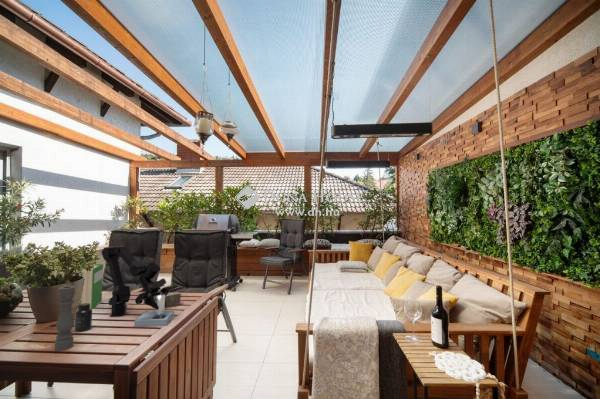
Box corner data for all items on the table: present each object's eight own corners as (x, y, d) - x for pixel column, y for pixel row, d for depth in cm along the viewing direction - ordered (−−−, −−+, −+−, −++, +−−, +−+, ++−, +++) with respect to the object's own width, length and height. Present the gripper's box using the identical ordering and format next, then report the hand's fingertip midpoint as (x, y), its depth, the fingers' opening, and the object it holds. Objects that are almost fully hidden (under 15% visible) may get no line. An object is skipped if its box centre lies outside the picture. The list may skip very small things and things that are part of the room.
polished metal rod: (155, 322, 152) (156, 296, 153) (154, 320, 156) (154, 294, 156) (165, 320, 155) (165, 295, 155) (163, 318, 158) (163, 293, 159)
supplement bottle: (94, 327, 148) (95, 303, 148) (80, 332, 141) (82, 307, 142) (85, 326, 150) (86, 301, 151) (70, 330, 144) (72, 305, 144)
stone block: (157, 311, 175) (158, 297, 175) (153, 307, 182) (154, 294, 182) (182, 306, 184) (182, 294, 184) (177, 303, 191) (177, 291, 191)
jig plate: (134, 326, 149) (134, 320, 149) (145, 316, 164) (146, 311, 164) (165, 325, 151) (166, 319, 151) (174, 315, 166) (174, 310, 166)
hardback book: (92, 309, 177) (94, 268, 178) (78, 310, 174) (80, 269, 176) (101, 301, 193) (103, 264, 195) (88, 302, 191) (89, 264, 192)
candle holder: (61, 344, 128) (64, 285, 130) (76, 344, 129) (79, 285, 130) (50, 351, 122) (53, 289, 124) (66, 350, 123) (69, 289, 124)
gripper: (140, 277, 150) (155, 302, 145) (169, 271, 167) (184, 293, 162) (128, 291, 152) (142, 317, 147) (158, 284, 169) (172, 306, 164)
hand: (161, 307), depth 155 cm, fingers closed on polished metal rod, 4 cm apart
